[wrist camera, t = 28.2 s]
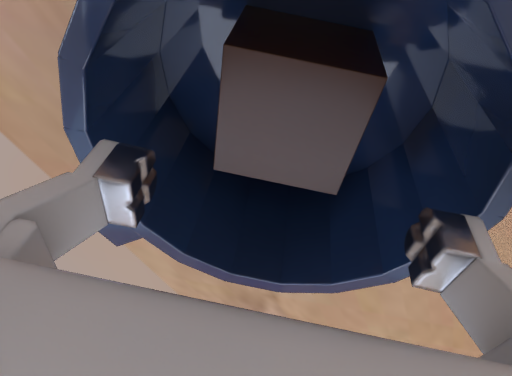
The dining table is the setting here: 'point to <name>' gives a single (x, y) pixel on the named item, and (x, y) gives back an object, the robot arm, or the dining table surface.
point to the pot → (280, 195)
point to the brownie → (295, 98)
